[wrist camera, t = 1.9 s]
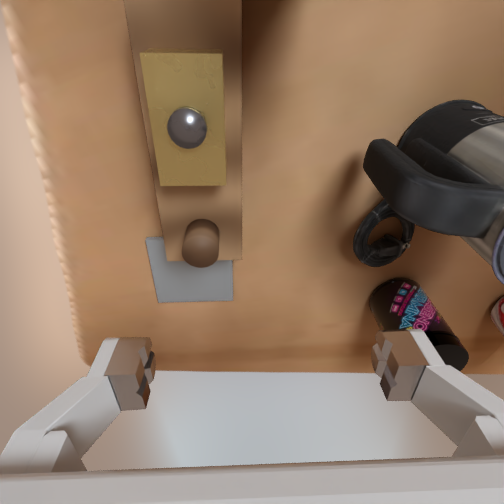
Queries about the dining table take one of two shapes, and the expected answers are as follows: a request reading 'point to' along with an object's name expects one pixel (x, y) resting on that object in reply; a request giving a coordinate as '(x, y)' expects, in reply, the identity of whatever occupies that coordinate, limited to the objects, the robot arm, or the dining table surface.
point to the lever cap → (187, 114)
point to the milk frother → (440, 183)
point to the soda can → (498, 315)
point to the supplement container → (416, 318)
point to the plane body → (230, 195)
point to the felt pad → (188, 277)
